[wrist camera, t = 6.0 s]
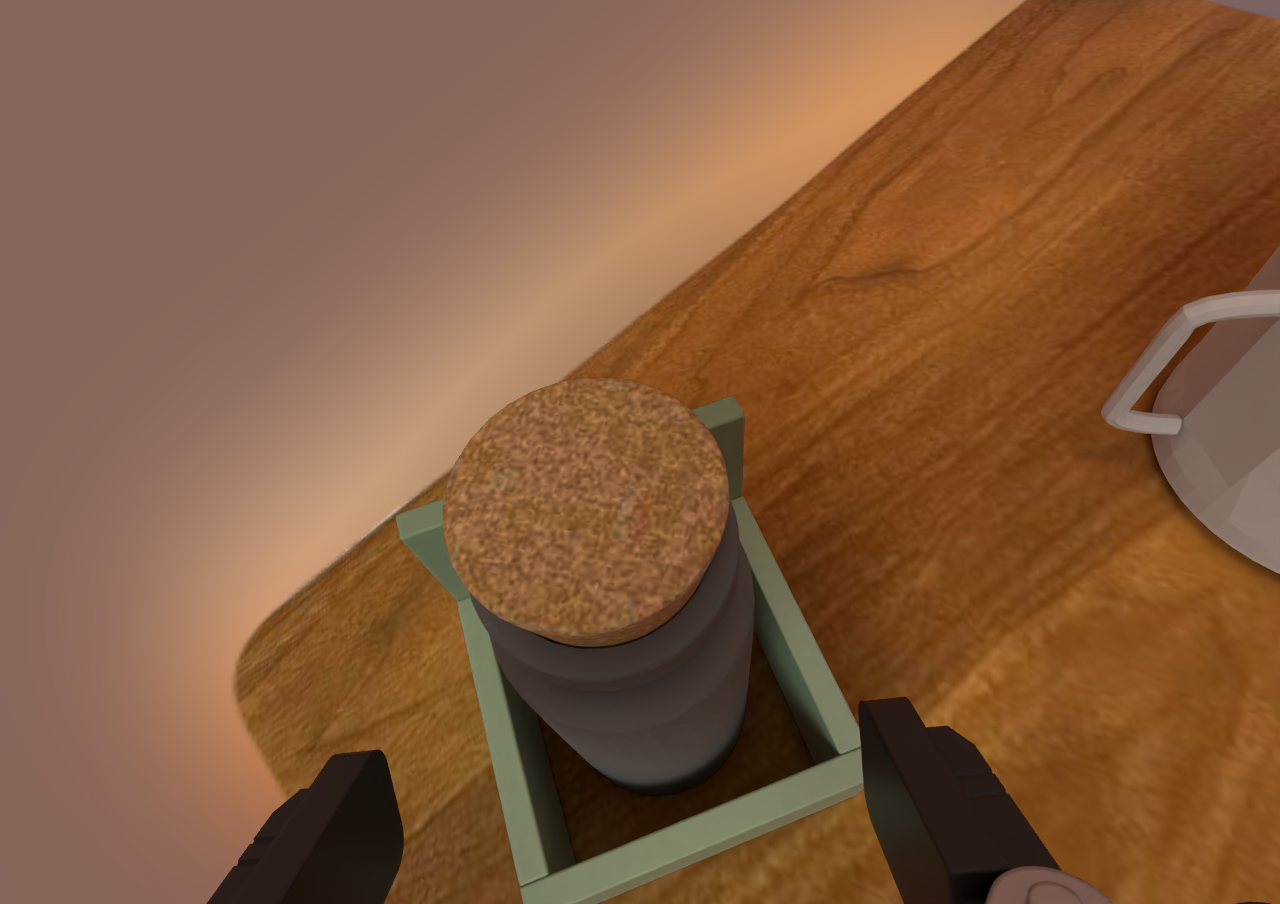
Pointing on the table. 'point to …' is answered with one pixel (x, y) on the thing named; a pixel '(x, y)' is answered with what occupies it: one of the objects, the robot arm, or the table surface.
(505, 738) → the holder
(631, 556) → the bottle
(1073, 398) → the table surface
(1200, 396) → the mug
